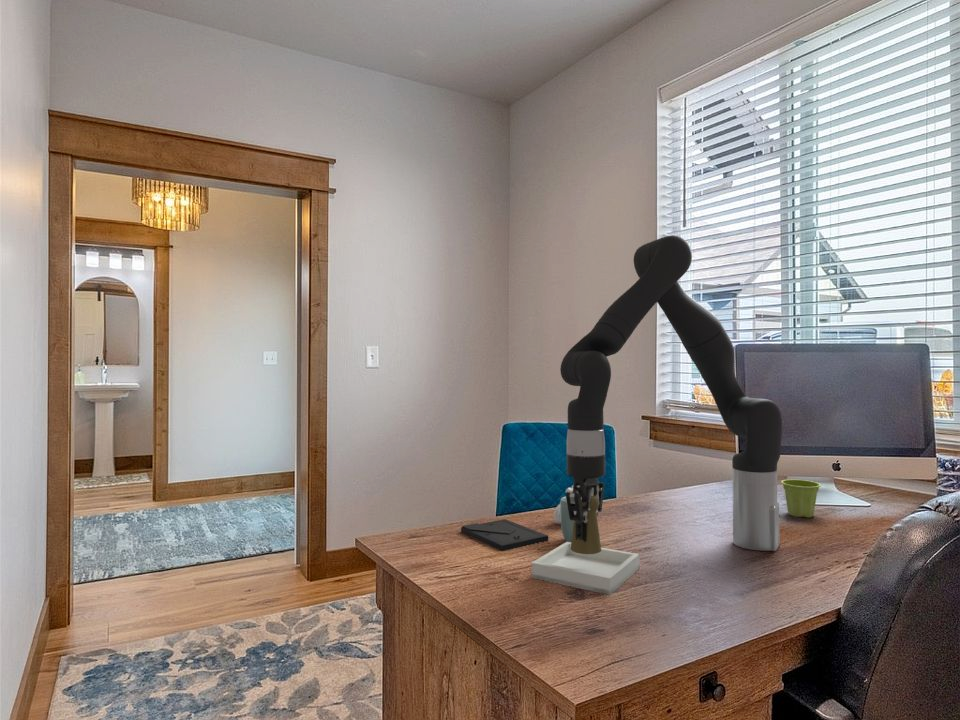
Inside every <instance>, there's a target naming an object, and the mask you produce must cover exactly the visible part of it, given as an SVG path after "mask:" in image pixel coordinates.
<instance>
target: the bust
mask: <svg viewBox="0 0 960 720" xmlns="http://www.w3.org/2000/svg"><path fill="white" fill-rule="evenodd" d="M572 491H573V485H571V487H567V488H566V489H565V493H567V492H571V493H572ZM553 520H554V522H555V523H556V524H558V525H560V524H561V516H560V503H559V504H558V505H557V506H556V508H555V510H554V512H553Z"/></svg>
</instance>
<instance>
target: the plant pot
mask: <svg viewBox="0 0 960 720" xmlns="http://www.w3.org/2000/svg"><path fill="white" fill-rule="evenodd" d="M781 484H782V487H783V490H784V494H785V502H786V507H787V508H786V509H787V513H788V514H789V516H793V517H796V518H803V517H805V518H809V519H810V518H812V517H814V514H815V507H816V502H817V496H818V495H817V494H818V492H819V490H820V487H821V485H822V484H821V483H819V482H816V481H811V480H807V479H783V480H781Z"/></svg>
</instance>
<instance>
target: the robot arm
mask: <svg viewBox="0 0 960 720" xmlns="http://www.w3.org/2000/svg"><path fill="white" fill-rule="evenodd" d="M692 260H693V252H692V248H691V246H690V244H689V243H688V242H687V240H685V238H683V237H681V236H679V235H666V236H662V237H660V238H656V239H654V240H652V241H650V242H647V243H644V244H643V245H641V246H639V247H638V248H637V249H636V251H635V252H634V254H633V265H634V266H633V267H634V269H635V272H636V274H637V276H638V280H637V281H636V282H635V283H634V284H633V285H631V287H629V288H628V289H627V290H626V291H624V292H623V293H622V294H621V295H620V296H619V297H618V298H617V299H616V300H615V301H613V302H612V304H611V305H610V306H608V308H607V309H606V310H605V312H603V314H602V315H601V317H599V319H598V321H596V323H595V325H593V328H592V329H591V330H590V332H588V333H587V334H586V335H584V336H583V337H582V338H581V339H580V340H579V341H577V343H575V344H574V345H573V346H572V347H571V348H570V349H569V350H568V351H567V353H566V354H565V355H564V357H563V358H562V361H561V363H560V367H559V368H560V370H559V371H560V376H561V378H562V380H563V381H564V382H565V383H566V384H568V385H570V386H573V387H579V393H578V396H577V398H574V399H572V400H570V402H569V401H568V406H567V434H566V474H567V476H568V477H570V478H571V477H572V478H573V491H572V493H571V492H567V493H566V492H565V493H566V494H565V496H566V499H567V505H568V511H569V518H570V520H572V521H574V522H576V540H577V539H580V540H584V542H586V541H587V521H588V511H590V510H591V508H590V503H591V499H592V497H593V495H595V496H597V498H598V500H599V507H598V509H597V510H596V514H597V518H598V517H599V513H602V512H603V510H602V509H603V504H604V503H603V502H604V495H605V494H604V492H605V483H604V482H602V481H601V482H600V481H599V479H600V478H603V477H605V476H606V439H605V431H604V430H605V429H604V428H605V427H604V426H605V425H604V408H605V407H604V406H605V404H606V400H607V397H608V391H609V387H610V383H611V378H612V370H611V369H612V368H611V367H612V366H611V364H610V361H609V359H608V357H610V356H613V355H615V354H617V353H619V352H620V351H621V350H622V348H623V346H624V345H625V344H626V343H627V341H628V340H629V339H630V337H631V336H632V334H633V332H634V331H635V329H636V328H637V327H638V326H639V324H640V323H641V321H643V319H644V318H645V317H646V316H647V314H648V313H649V312H650V311H651V309H652V308H653V307H654V306H655V305H656V303H657V304H658V305H659V307H660V308H661V310H662V312H663V313H664V315H665V316H666V319H667V320H668V321H669V324H670V325H671V327H672V328H673V330H674V331H675V333H676V334H677V336H678V338H679V339H680V342H681V344H682V345H683V348H684V349H685V351H686V353H687V354H688V355H689V358H690V359H691V361H692V362H693V364H694V365H695V367H696V369H697V370H698V373H699V374H700V375H701V377H702V379H703V381H704V383H705V385H706V386H707V388H708V390H709V391H710V394H711V396H712V398H713V400H714V402H715V405H716V407H717V409H718V411H719V414H720V416H721V418H722V420H723V422H724V424H725V426H726V427H727V429H728V430H729V431H730V432H731V434H734V435H735V436H736V437H740V438H745V448H744V450H743V451H741V452H738V453H735V454H734V455H733V457H732V459H731V460H732V461H731V462H732V465H731V466H732V468H731V469H732V543H733V544H734V545H735V546H736V547H740V548H743V549H747V550H751V551H752V550H753V551H763V552H765V551H767V552H768V551H770V552H771V551H772V552H776V551H777V550H778V547H779V546H780V503H779V502H778V462H779V461H780V458H781V452H782V434H783V433H782V432H783V418H782V414H781V411H780V408H779V406H778V405H777V404H776V403H775V402H774V401H773V400H770V399H767V398H757V397H756V398H755V397H749V396H748V395H747V393H745V391H744V390H743V388H742V386H741V385H740V383H739V381H738V379H737V377H736V374H735V351H734V349H735V348H734V345H733V343H732V340H731V339H730V336H729V334H728V332H727V331H726V330H725V328H724V326H723V325H722V323H721V321H720V320H719V318H718V317H717V316H716V315H714V313H712V312H711V311H710V310H709V309H707V308H706V307H705V306H703V305H702V304H700V303H699V302H697V300H695V299H694V298H692V297H691V296H690V295H689V294H688V293H687V292H686V291H685V290H684V288H683V287H682V286H681V284H680V282H679V280H680V279H681V278H682V277H683V276H685V273H687V271H688V270H689V269H690V266H691V264H692ZM586 501H587V505H586V506H582V503H581V502H586ZM583 511H584V514H583Z"/></svg>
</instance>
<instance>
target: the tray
mask: <svg viewBox="0 0 960 720" xmlns="http://www.w3.org/2000/svg"><path fill="white" fill-rule="evenodd" d="M640 562H641V561H640V554H639V553H634V552H629V551H624V550H617V549H611V548H606V547H601V552H599V553H596V554H580V553H576V552H573V551H572V550H571V542H567V541H565V542H564V543H562V544H560V545H559V546H558V547H555V548H554V549H552V550H550V551H549V552H547V553H545V554H543V555H542V556H541V557H539V558H538V559H535V560H534V561H532V562H531V579H533V578H534V580H538V579H539V580H540V581H543V580H544V582H547V581H549V582H548V583H552V582H553V584H556V583H559V584H558V585H561V584H563V585H562V586H567V587H570V586H571V587H570V588H577V589H581V590H585V591H590V592H595V593H599V594H602V595H603V594H604V595H609V596H611V595H612V594H613V593H615V591H617V590H618V589H619V588H620V587H622V586H623V585H624V584H625V583H626V582H627V581H628V580H629V579H630V578H631V577H632V576H633V575H634V573H635V572H636V571H637V570H638V571H639V570H640ZM638 571H637V572H638ZM637 572H636V573H637ZM636 573H635V574H636ZM627 579H628V580H627ZM626 580H627V581H626ZM625 581H626V582H625ZM624 582H625V583H624Z"/></svg>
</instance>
